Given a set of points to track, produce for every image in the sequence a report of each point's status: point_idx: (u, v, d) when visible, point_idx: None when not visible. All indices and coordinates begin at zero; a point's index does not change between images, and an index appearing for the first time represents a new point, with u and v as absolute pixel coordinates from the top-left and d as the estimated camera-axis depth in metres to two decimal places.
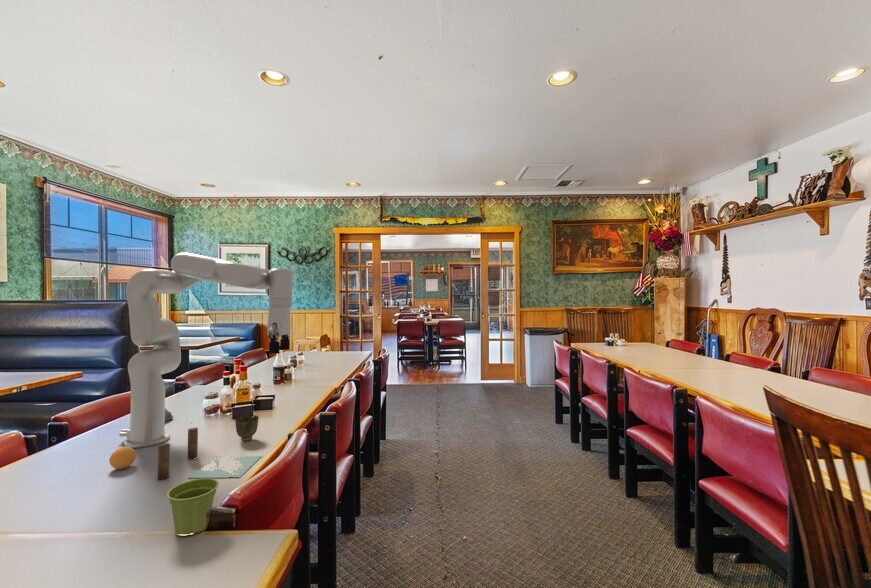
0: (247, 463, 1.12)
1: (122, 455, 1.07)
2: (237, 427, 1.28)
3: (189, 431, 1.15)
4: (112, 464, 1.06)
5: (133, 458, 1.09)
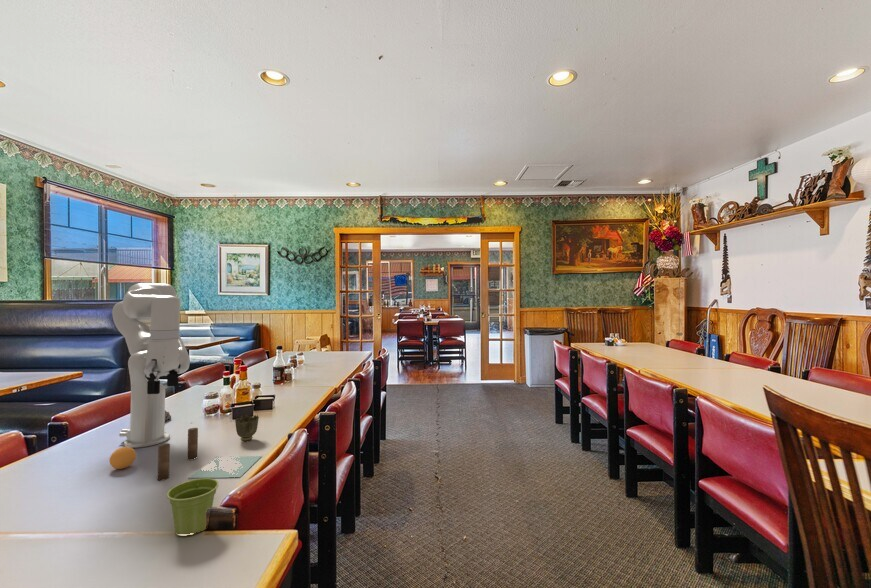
0: (247, 463, 1.12)
1: (122, 455, 1.07)
2: (237, 427, 1.28)
3: (189, 431, 1.15)
4: (112, 464, 1.06)
5: (133, 458, 1.09)
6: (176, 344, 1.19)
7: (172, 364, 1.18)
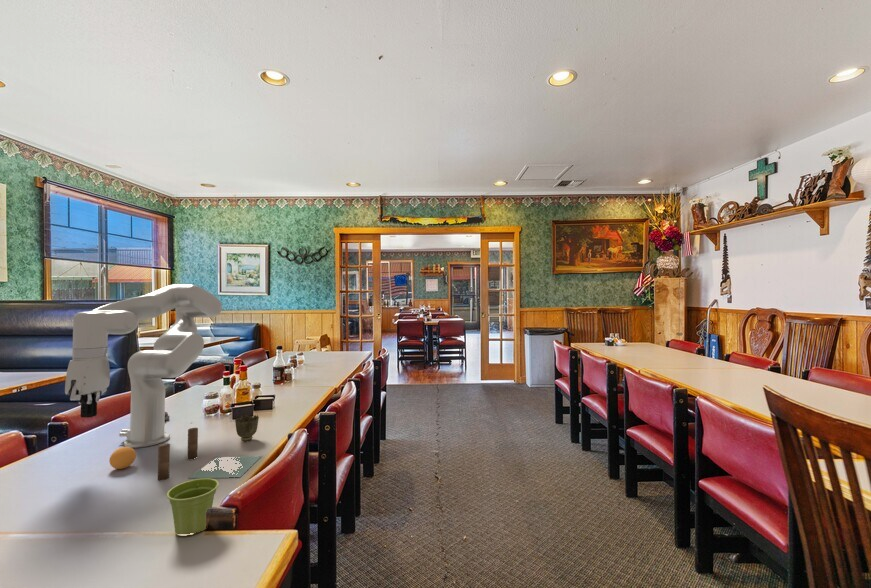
0: (247, 463, 1.12)
1: (122, 455, 1.07)
2: (237, 427, 1.28)
3: (189, 431, 1.15)
4: (112, 464, 1.06)
5: (133, 458, 1.09)
6: (104, 363, 1.11)
7: (98, 384, 1.09)
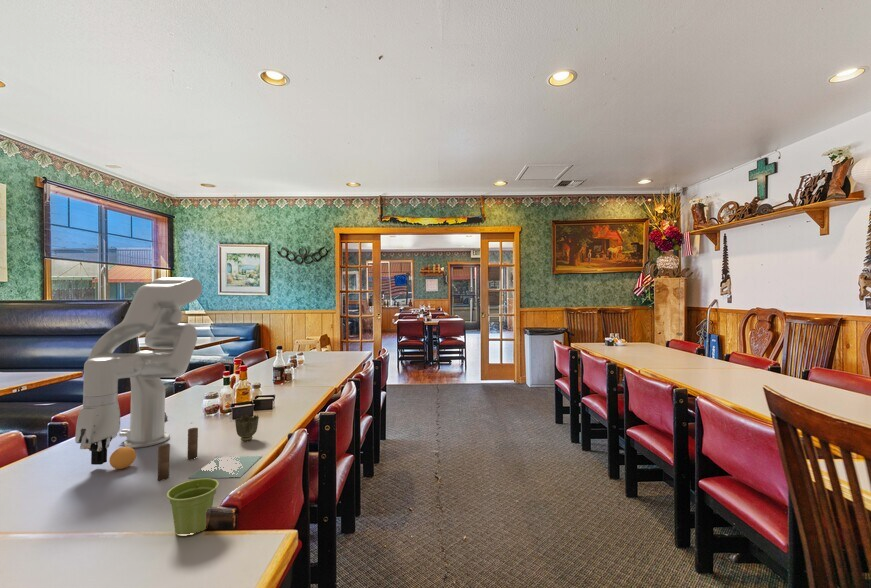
0: (247, 463, 1.12)
1: (122, 455, 1.07)
2: (237, 427, 1.28)
3: (189, 431, 1.15)
4: (112, 464, 1.06)
5: (133, 458, 1.09)
6: (114, 408, 1.11)
7: (108, 431, 1.09)
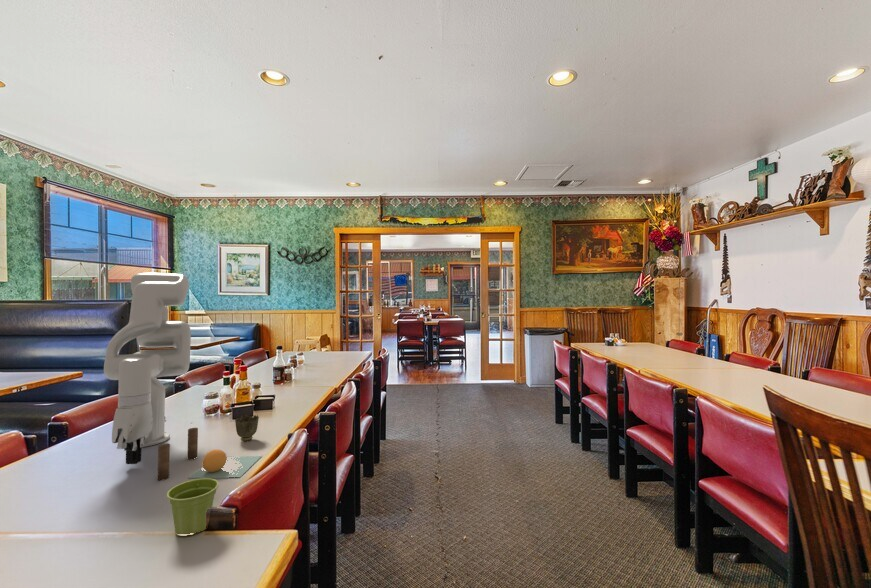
0: (247, 463, 1.12)
1: (206, 470, 1.06)
2: (237, 427, 1.28)
3: (189, 431, 1.15)
4: (208, 461, 1.05)
5: None
6: (147, 408, 1.11)
7: (142, 431, 1.10)
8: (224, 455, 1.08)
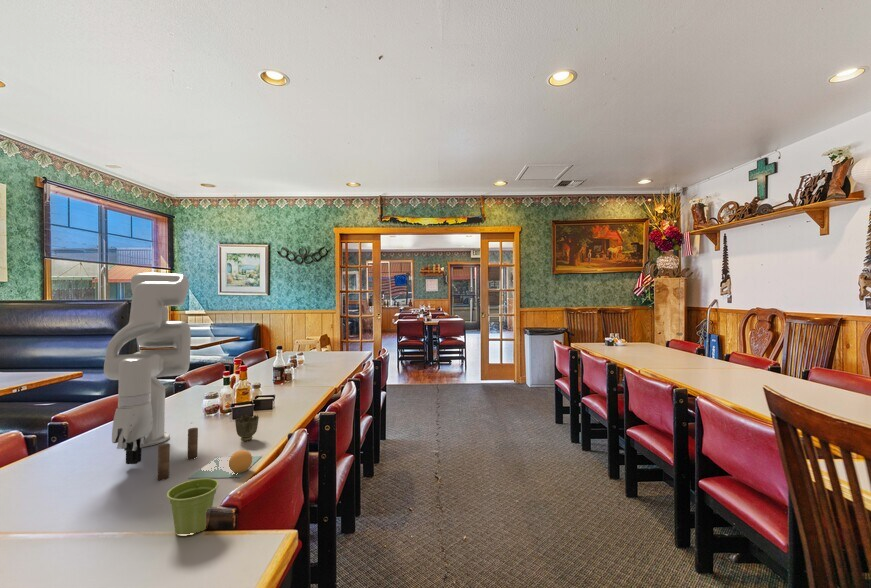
0: None
1: (236, 455, 1.05)
2: (237, 427, 1.28)
3: (189, 431, 1.15)
4: (235, 468, 1.04)
5: (248, 453, 1.07)
6: (147, 408, 1.11)
7: (142, 431, 1.10)
8: None
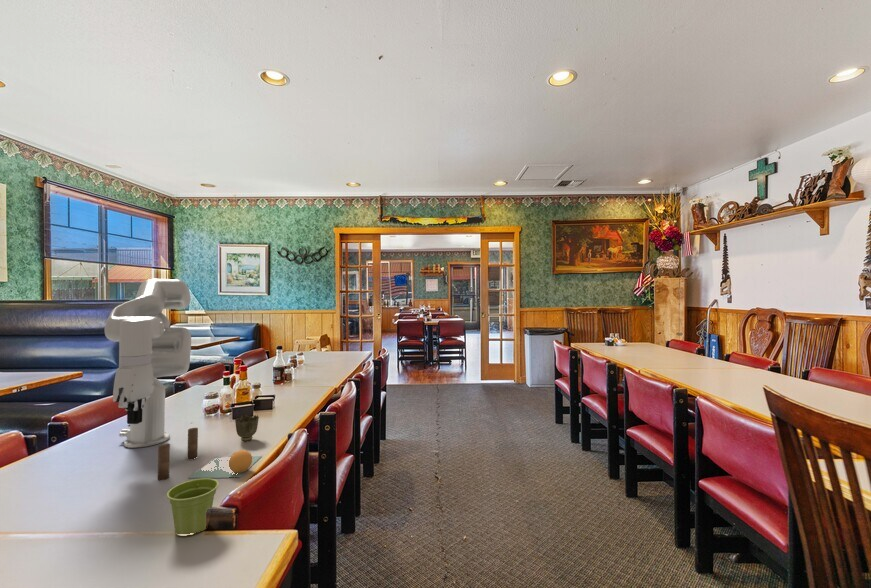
0: None
1: (236, 455, 1.05)
2: (237, 427, 1.28)
3: (189, 431, 1.15)
4: (235, 468, 1.04)
5: (248, 453, 1.07)
6: (148, 370, 1.12)
7: (144, 391, 1.10)
8: None
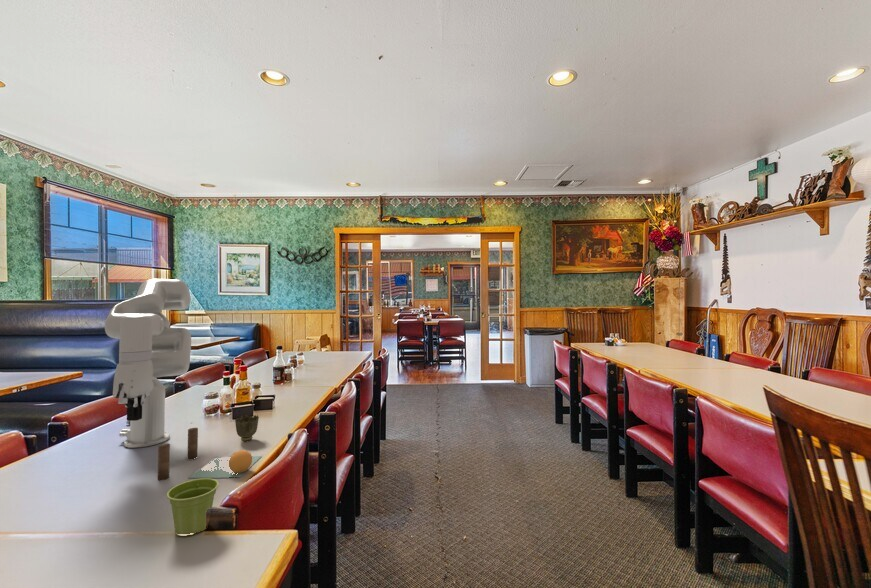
0: None
1: (236, 455, 1.05)
2: (237, 427, 1.28)
3: (189, 431, 1.15)
4: (235, 468, 1.04)
5: (248, 453, 1.07)
6: (148, 366, 1.12)
7: (143, 388, 1.10)
8: None
